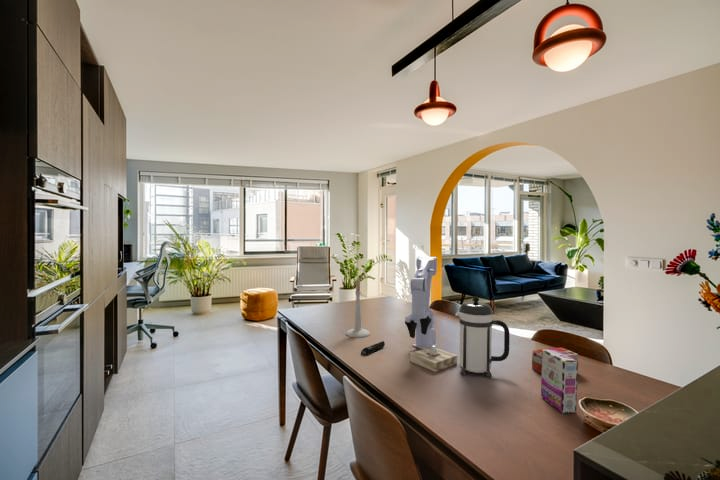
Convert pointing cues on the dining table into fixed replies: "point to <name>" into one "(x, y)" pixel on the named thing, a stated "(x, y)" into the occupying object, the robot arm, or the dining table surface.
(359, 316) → the candlestick
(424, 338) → the robot arm
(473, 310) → the coffee press
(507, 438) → the dining table surface
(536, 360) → the medicine box
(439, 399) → the dining table surface
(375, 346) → the electric trimmer
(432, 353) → the peg
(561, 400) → the candy bar box
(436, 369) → the socket block
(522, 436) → the dining table surface
